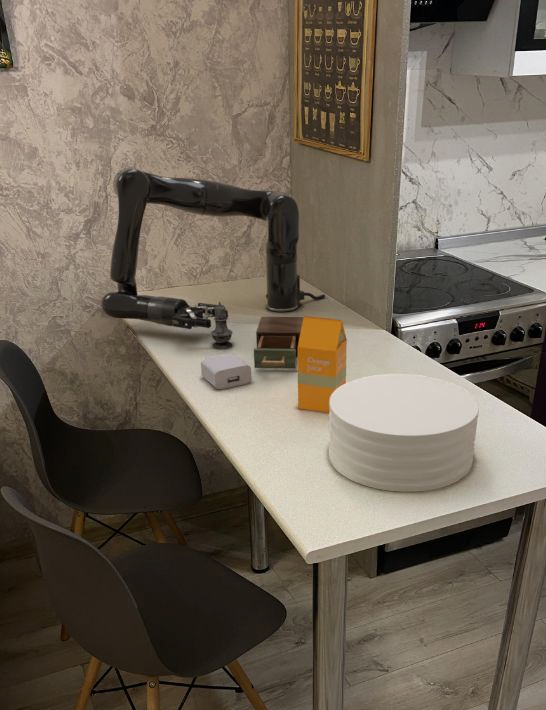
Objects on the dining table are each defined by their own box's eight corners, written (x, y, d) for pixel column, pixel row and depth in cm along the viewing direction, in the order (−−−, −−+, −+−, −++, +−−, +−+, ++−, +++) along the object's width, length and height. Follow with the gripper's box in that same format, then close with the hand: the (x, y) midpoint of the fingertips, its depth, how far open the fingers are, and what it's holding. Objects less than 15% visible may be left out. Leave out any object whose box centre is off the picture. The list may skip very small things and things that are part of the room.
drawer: (294, 376, 182) (293, 357, 179) (252, 375, 182) (251, 357, 180) (298, 352, 196) (298, 334, 193) (259, 351, 196) (258, 334, 194)
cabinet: (300, 356, 195) (300, 332, 192) (257, 355, 196) (256, 331, 193) (303, 339, 206) (303, 316, 203) (262, 339, 207) (261, 316, 204)
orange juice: (335, 414, 165) (336, 325, 155) (297, 408, 168) (296, 321, 158) (345, 399, 171) (347, 314, 161) (309, 394, 174) (308, 310, 164)
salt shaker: (232, 349, 200) (229, 304, 194) (210, 349, 201) (207, 305, 194) (234, 341, 205) (231, 298, 199) (212, 341, 206) (209, 298, 200)
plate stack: (405, 509, 131) (410, 451, 126) (299, 453, 150) (299, 400, 144) (501, 457, 147) (509, 403, 141) (395, 412, 165) (398, 363, 160)
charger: (226, 362, 192) (251, 382, 181) (192, 369, 188) (216, 390, 177) (225, 345, 190) (250, 364, 178) (191, 351, 186) (214, 371, 174)
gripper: (151, 305, 198) (203, 313, 192) (181, 290, 209) (231, 297, 203) (154, 332, 202) (205, 341, 196) (183, 317, 213) (233, 324, 207)
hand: (218, 319), depth 200 cm, fingers open, 8 cm apart
